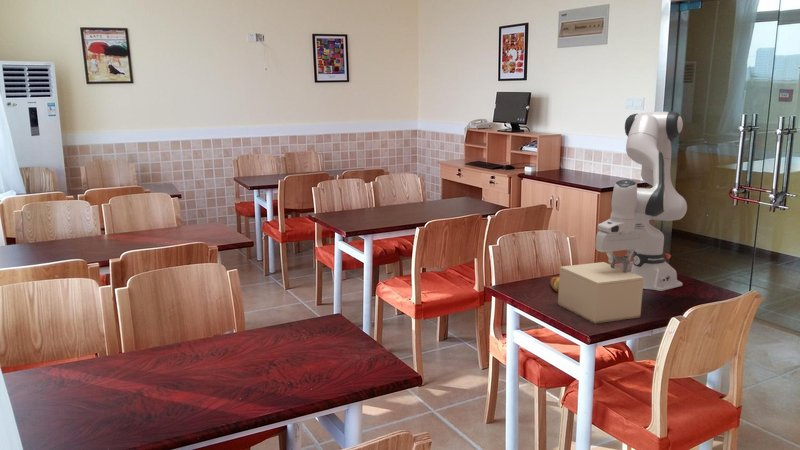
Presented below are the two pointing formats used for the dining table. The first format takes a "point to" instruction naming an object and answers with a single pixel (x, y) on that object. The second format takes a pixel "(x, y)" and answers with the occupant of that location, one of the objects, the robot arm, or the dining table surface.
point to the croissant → (555, 283)
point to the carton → (600, 298)
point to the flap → (603, 272)
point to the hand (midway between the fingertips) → (619, 261)
